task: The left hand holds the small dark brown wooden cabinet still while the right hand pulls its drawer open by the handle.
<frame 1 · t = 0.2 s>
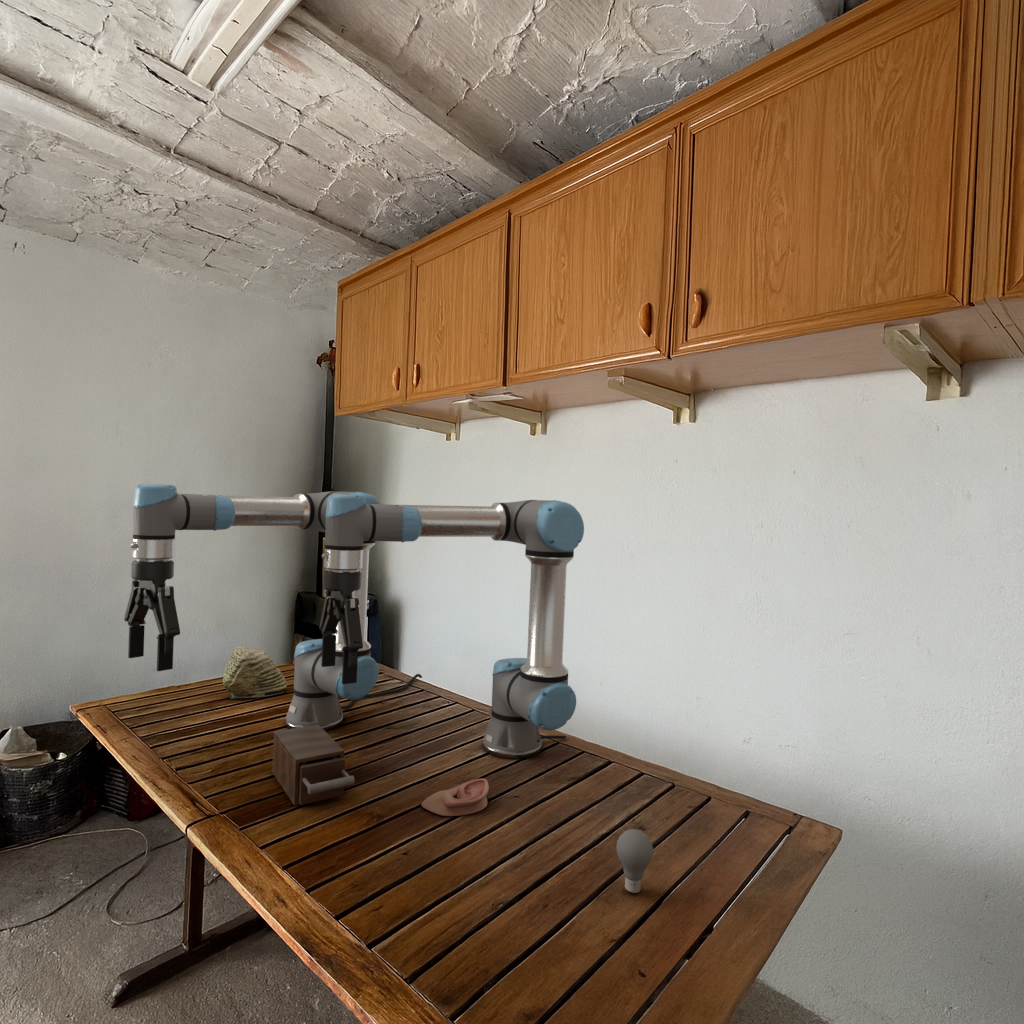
left hand: (149, 663, 129), 28 cm above the table, tool pointing down, fingers open, 13 cm apart
right hand: (338, 674, 129), 27 cm above the table, tool pointing down, fingers open, 13 cm apart
cabinet: (306, 783, 140), on the table
anatomical model: (455, 804, 133), on the table
fossil: (254, 694, 198), on the table
drawer: (315, 772, 135), point 5 cm above the table, slide at 1.1 cm
light bulb: (632, 891, 106), on the table
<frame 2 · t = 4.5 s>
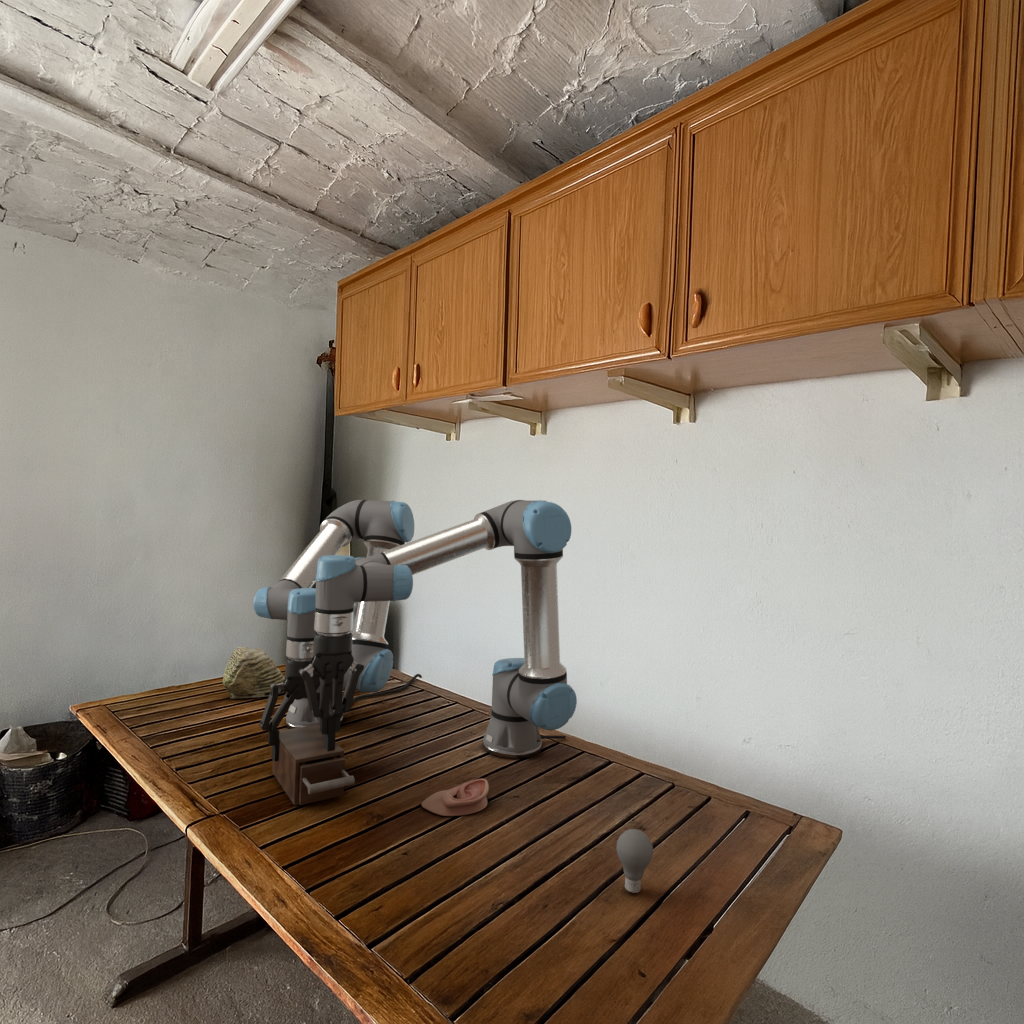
left hand: (299, 754, 144), 4 cm above the table, tool pointing down, fingers closed on cabinet, 10 cm apart
right hand: (329, 748, 128), 13 cm above the table, tool pointing down, fingers closed
cabinet: (306, 783, 140), on the table, touching left hand
everything else where it was.
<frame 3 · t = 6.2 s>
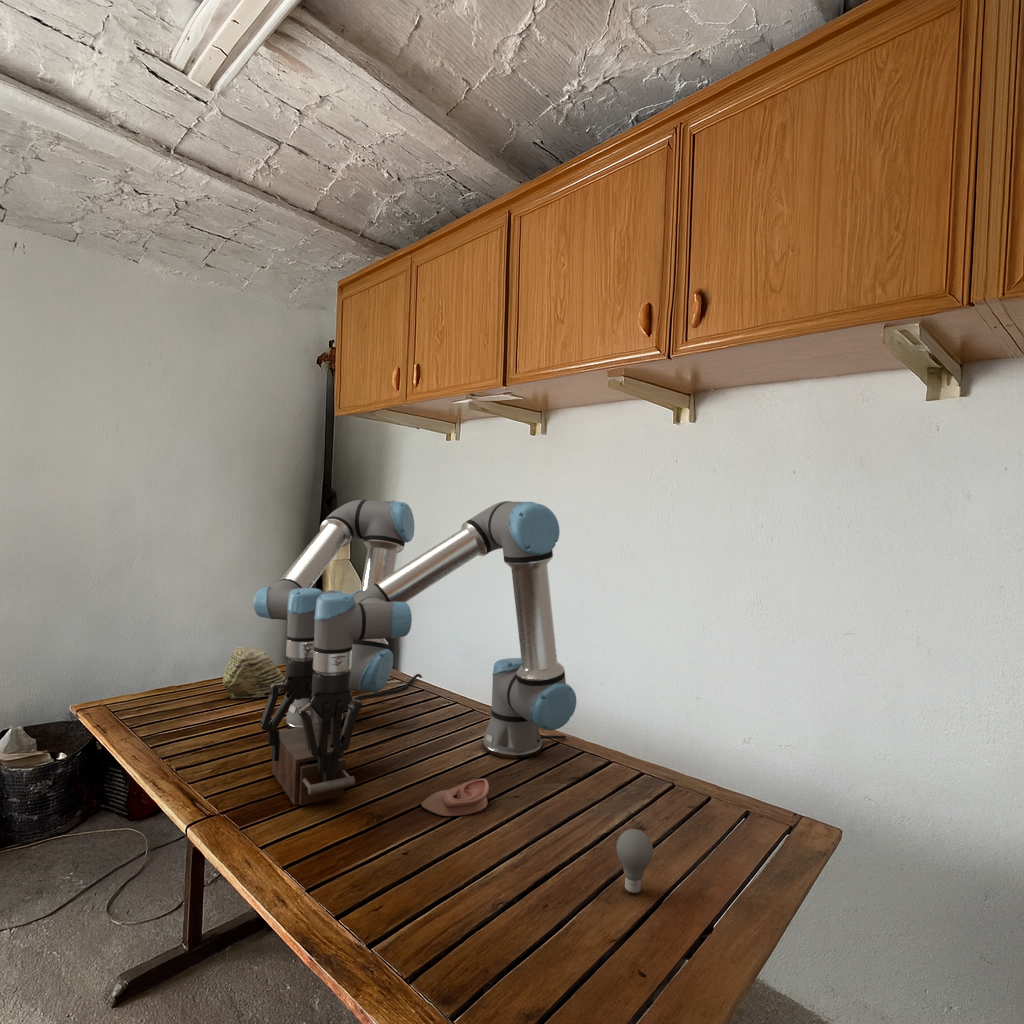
left hand: (299, 754, 144), 5 cm above the table, tool pointing down, fingers closed on cabinet, 10 cm apart
right hand: (326, 786, 128), 5 cm above the table, tool pointing down, fingers closed
cabinet: (306, 783, 140), on the table, touching left hand
everything else where it was.
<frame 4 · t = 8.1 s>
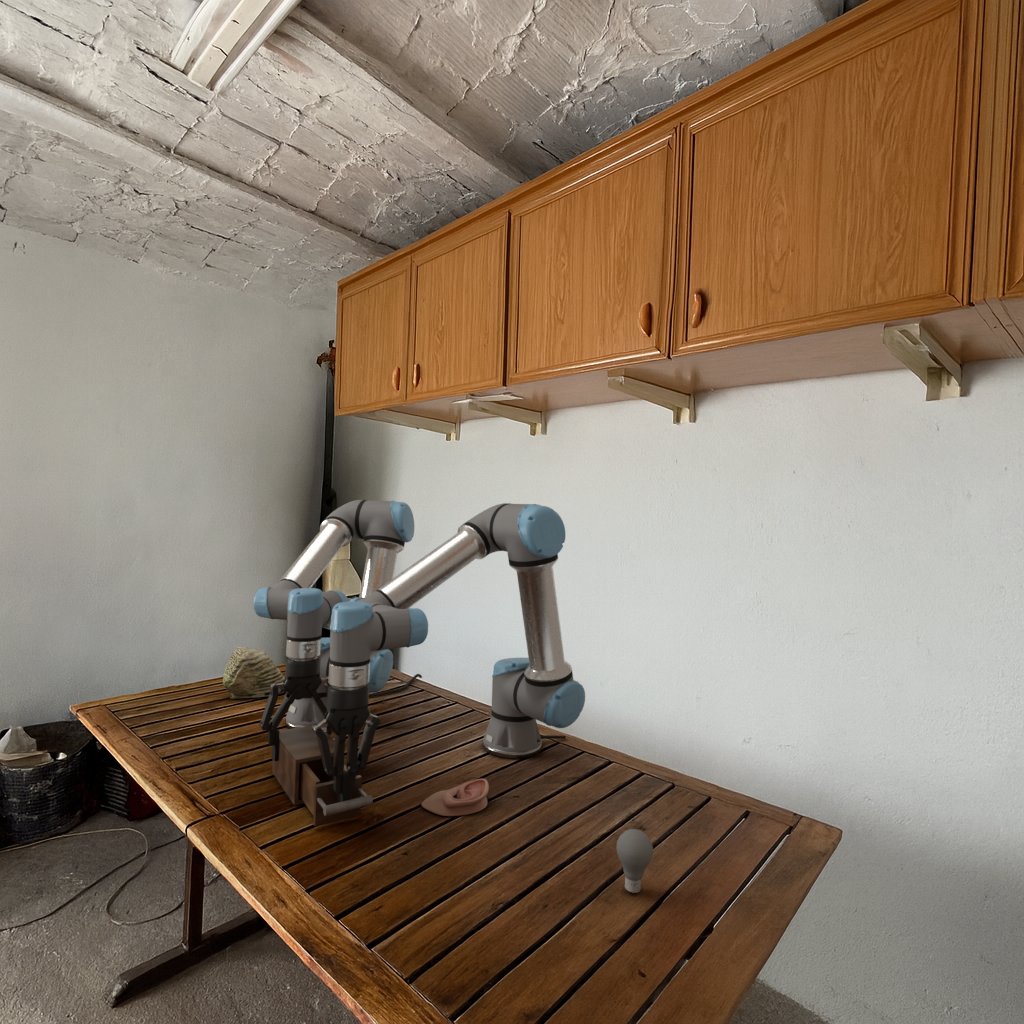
left hand: (299, 754, 144), 5 cm above the table, tool pointing down, fingers closed on cabinet, 10 cm apart
right hand: (343, 807, 120), 5 cm above the table, tool pointing down, fingers closed
cabinet: (306, 783, 140), on the table, touching left hand
drawer: (329, 790, 127), point 5 cm above the table, slide at 10.7 cm, touching right hand
everything else where it was.
when the left hand's fingers open (4 cm above the table, at t = 9.8 s): cabinet stays where it is, on the table.
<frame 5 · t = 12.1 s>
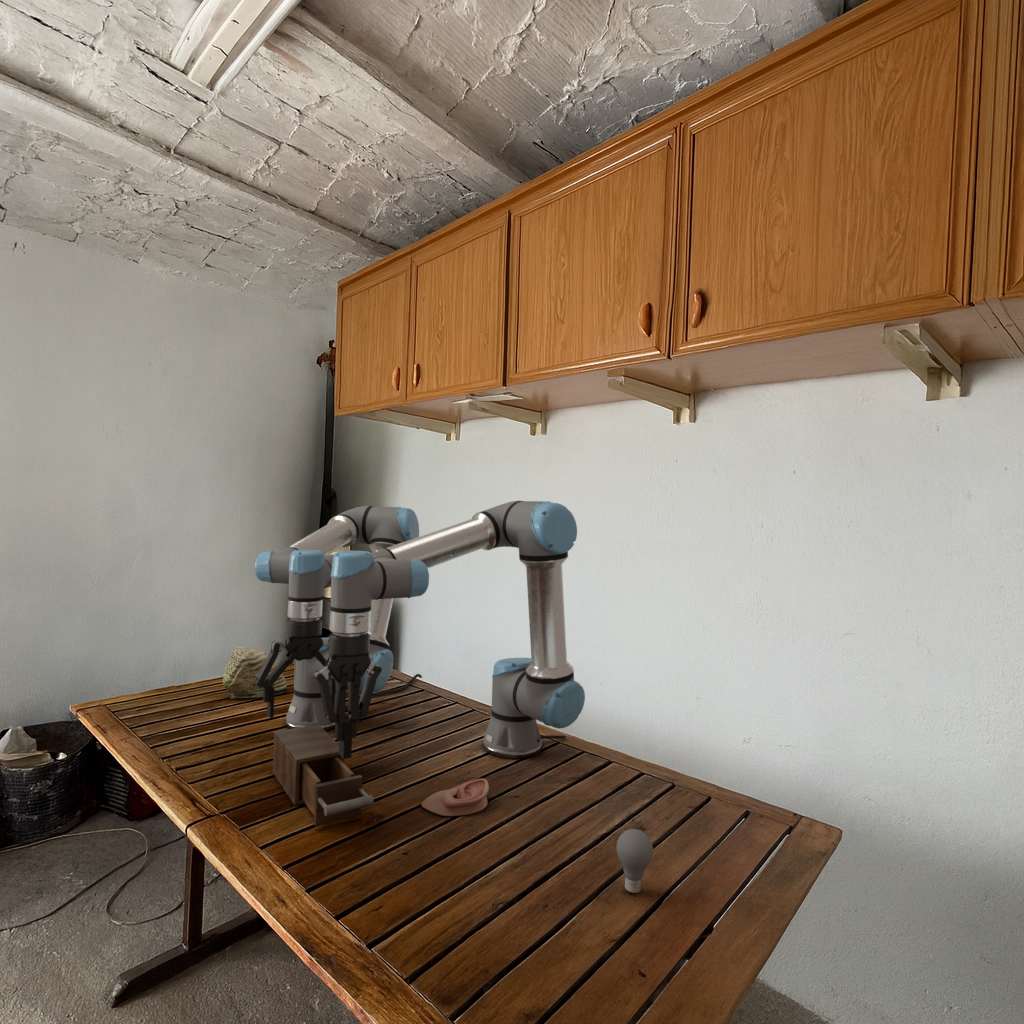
left hand: (301, 711, 144), 14 cm above the table, tool pointing down, fingers open, 13 cm apart
right hand: (344, 755, 121), 14 cm above the table, tool pointing down, fingers closed
cabinet: (306, 783, 140), on the table
drawer: (330, 790, 127), point 5 cm above the table, slide at 10.7 cm
everything else where it was.
at the end: drawer slide at 10.7 cm; cabinet tilted 0°; cabinet never tilted more than 1° during the clip; cabinet moved 0.1 cm from its start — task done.
